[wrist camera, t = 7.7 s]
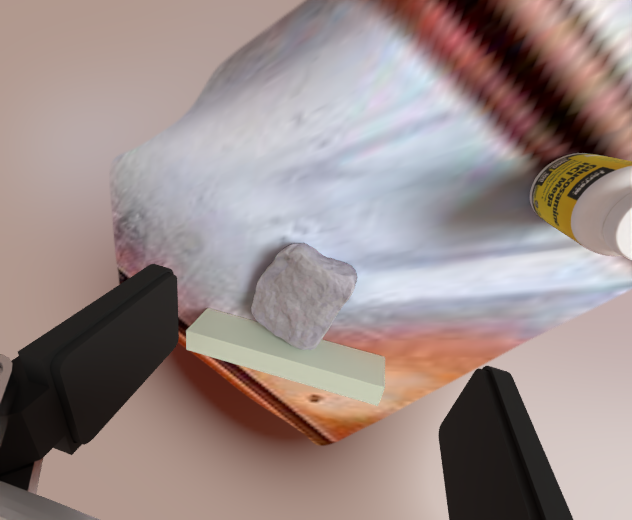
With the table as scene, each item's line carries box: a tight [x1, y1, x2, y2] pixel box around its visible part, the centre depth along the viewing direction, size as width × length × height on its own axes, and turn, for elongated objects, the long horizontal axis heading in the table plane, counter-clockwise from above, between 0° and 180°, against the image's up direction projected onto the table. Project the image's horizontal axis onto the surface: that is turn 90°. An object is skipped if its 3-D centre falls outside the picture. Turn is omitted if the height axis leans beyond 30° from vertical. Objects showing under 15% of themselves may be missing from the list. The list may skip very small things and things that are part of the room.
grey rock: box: [251, 243, 357, 350], centre depth 36 cm, size 12×5×10 cm
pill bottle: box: [530, 153, 632, 261], centre depth 23 cm, size 6×6×11 cm
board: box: [186, 308, 385, 406], centre depth 39 cm, size 3×24×5 cm, turn 80°
